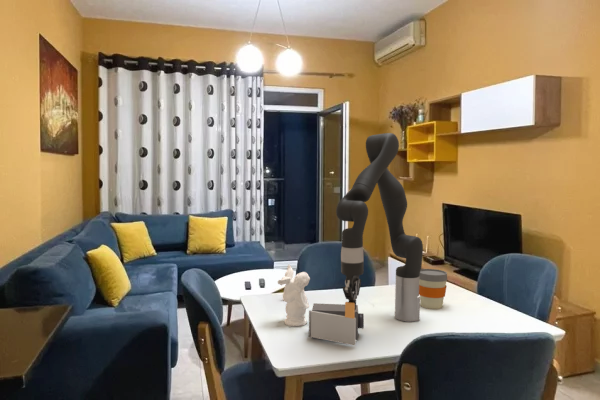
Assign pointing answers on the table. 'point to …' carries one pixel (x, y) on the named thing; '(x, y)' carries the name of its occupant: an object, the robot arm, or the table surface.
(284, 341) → the table surface
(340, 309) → the camera housing
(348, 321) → the door
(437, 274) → the reusable coffee cup
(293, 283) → the cherub figurine
